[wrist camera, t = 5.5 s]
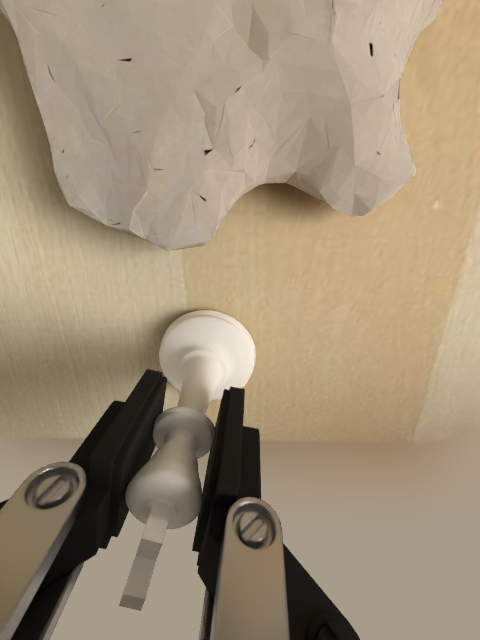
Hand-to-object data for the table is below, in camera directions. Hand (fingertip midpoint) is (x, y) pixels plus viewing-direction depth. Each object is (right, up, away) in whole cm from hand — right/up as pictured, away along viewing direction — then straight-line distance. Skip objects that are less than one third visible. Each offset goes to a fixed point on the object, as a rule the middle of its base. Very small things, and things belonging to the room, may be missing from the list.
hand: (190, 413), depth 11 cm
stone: (+1, +14, 0) cm, 14 cm away
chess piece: (0, +2, +4) cm, 5 cm away
